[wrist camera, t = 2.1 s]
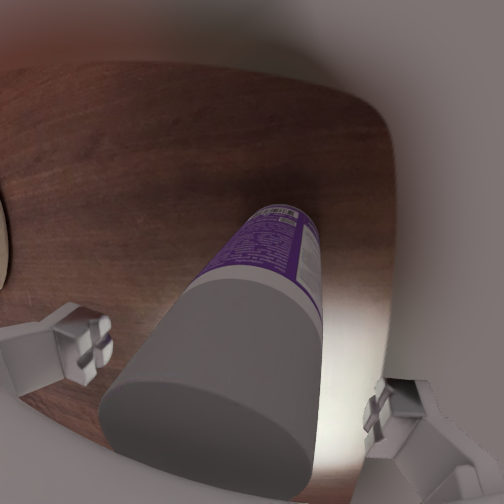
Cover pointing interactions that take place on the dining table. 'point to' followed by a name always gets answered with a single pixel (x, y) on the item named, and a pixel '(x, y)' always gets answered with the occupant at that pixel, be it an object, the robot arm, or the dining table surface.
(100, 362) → the robot arm
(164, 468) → the container
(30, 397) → the dining table surface
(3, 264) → the bowl
